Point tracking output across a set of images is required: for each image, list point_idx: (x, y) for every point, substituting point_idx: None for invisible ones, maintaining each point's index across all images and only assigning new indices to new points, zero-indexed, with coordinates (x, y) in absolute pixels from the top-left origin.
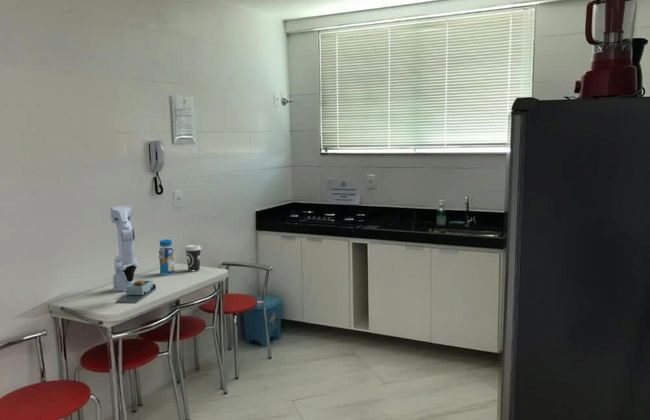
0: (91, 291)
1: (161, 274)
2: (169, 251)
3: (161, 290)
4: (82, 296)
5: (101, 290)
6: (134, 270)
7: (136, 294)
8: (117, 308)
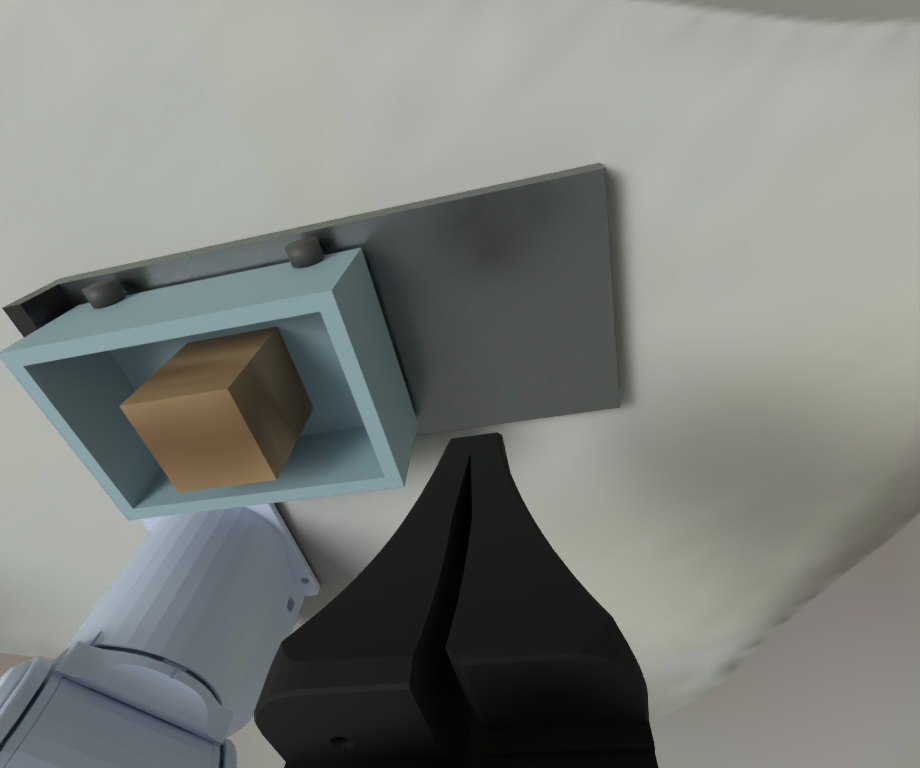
0: None
1: None
2: None
3: (26, 190)
4: None
5: None
6: (397, 585)
7: (385, 327)
8: (833, 262)
